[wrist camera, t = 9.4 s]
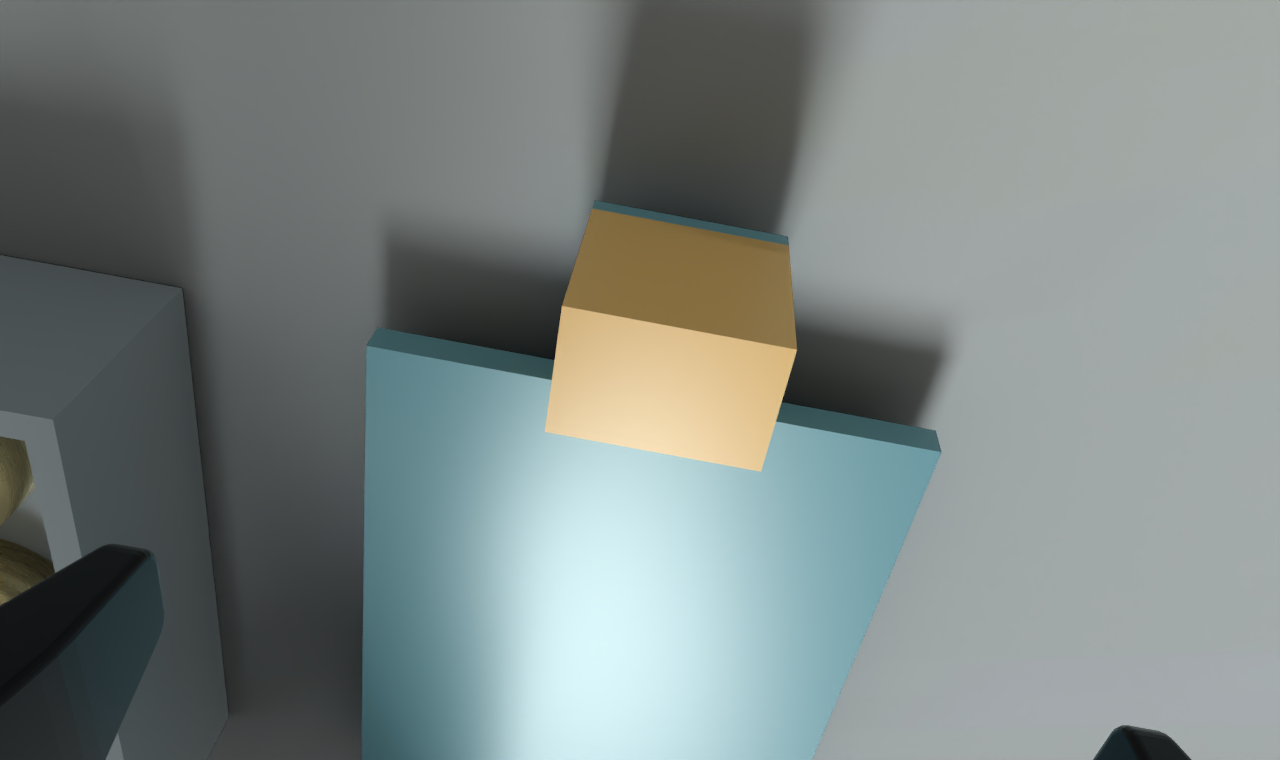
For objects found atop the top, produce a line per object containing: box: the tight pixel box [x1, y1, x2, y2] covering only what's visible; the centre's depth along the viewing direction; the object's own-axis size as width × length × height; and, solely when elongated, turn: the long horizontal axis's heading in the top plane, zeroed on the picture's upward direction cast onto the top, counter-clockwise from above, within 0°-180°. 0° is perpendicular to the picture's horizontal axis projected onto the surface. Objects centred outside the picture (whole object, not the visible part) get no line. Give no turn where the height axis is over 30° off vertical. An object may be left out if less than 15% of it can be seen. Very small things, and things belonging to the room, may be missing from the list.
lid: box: [361, 201, 941, 760], centre depth 19 cm, size 16×10×4 cm, turn 171°
